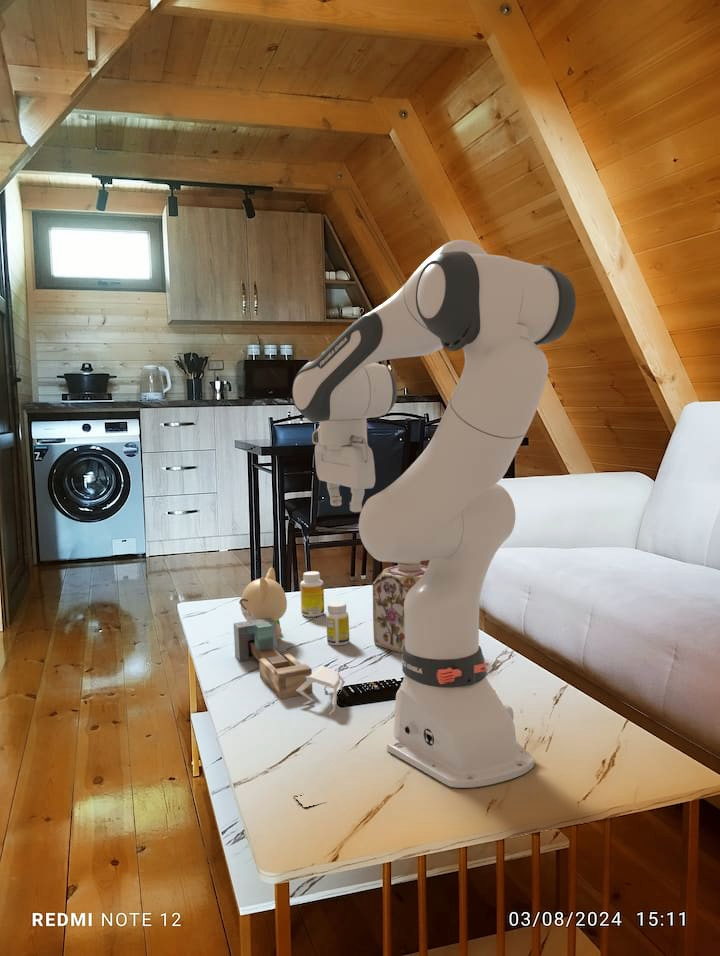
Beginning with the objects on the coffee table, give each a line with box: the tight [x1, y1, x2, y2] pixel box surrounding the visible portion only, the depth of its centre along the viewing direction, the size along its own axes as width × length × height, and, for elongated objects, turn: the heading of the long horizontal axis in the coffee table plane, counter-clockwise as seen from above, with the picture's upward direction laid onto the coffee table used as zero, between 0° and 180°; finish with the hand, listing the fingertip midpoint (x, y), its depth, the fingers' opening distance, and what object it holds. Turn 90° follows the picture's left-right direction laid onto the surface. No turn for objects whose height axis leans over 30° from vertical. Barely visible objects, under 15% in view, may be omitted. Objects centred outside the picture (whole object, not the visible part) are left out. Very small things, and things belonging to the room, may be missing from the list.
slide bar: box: [248, 622, 288, 669], centre depth 152 cm, size 16×3×7 cm, turn 24°
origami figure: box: [296, 665, 346, 716], centre depth 133 cm, size 12×8×5 cm
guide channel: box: [258, 653, 313, 700], centre depth 142 cm, size 12×6×4 cm, turn 24°
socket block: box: [233, 618, 279, 662], centre depth 159 cm, size 4×8×7 cm, turn 114°
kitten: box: [239, 567, 288, 641], centre depth 169 cm, size 15×10×15 cm
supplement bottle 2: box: [325, 601, 350, 646], centre depth 166 cm, size 5×5×8 cm
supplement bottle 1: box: [299, 570, 325, 618], centre depth 188 cm, size 6×6×10 cm
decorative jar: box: [372, 561, 428, 654], centre depth 162 cm, size 12×12×18 cm
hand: (345, 508), depth 147 cm, fingers open, 8 cm apart
